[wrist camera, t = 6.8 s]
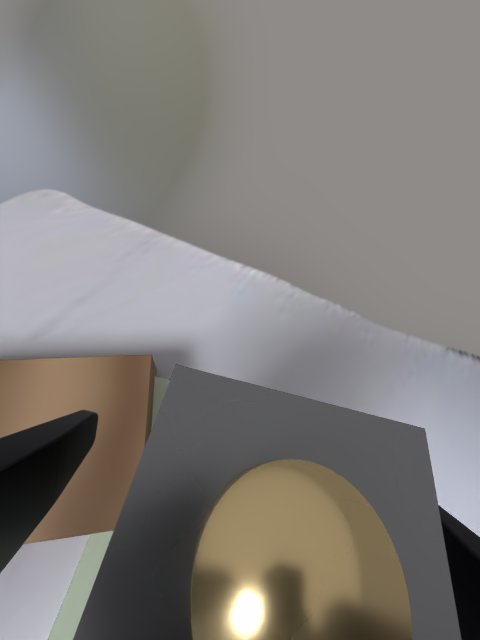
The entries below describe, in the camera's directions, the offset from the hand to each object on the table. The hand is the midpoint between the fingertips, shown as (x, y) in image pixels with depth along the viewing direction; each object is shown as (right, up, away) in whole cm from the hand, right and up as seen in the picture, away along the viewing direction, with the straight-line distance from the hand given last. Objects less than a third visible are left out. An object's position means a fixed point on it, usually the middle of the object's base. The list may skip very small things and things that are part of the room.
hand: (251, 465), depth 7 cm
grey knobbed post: (-1, -4, +4) cm, 6 cm away
